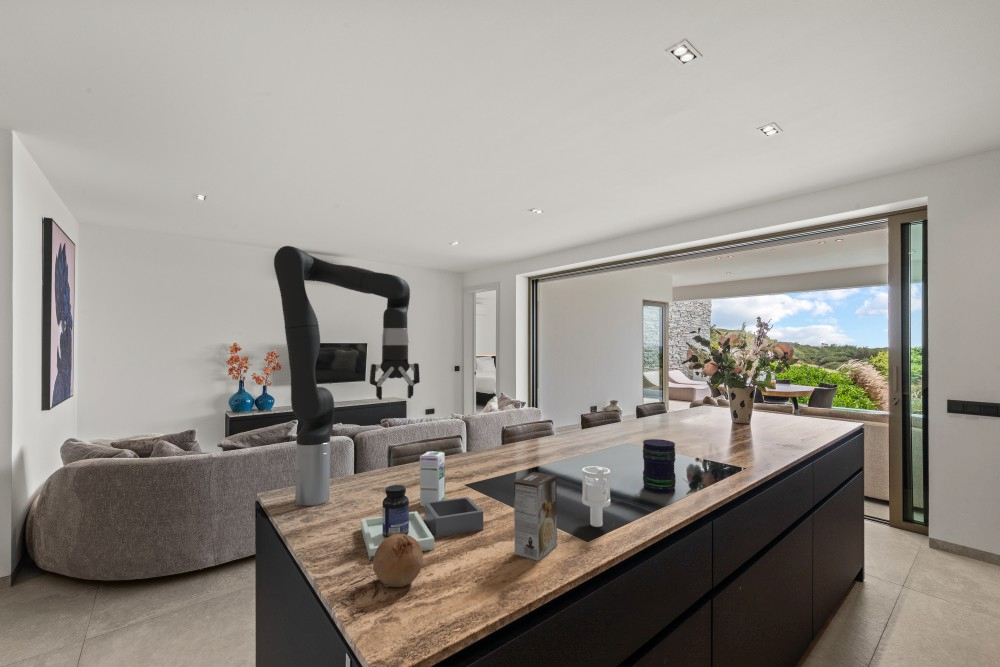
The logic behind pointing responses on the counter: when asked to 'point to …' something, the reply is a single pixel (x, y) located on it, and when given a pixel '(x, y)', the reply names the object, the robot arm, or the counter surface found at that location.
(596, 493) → the white cylindrical cage part
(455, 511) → the holder
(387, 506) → the pill bottle
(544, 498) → the coffee box
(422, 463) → the syrup box
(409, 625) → the counter surface
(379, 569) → the onion
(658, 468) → the storage jar
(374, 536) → the tray
